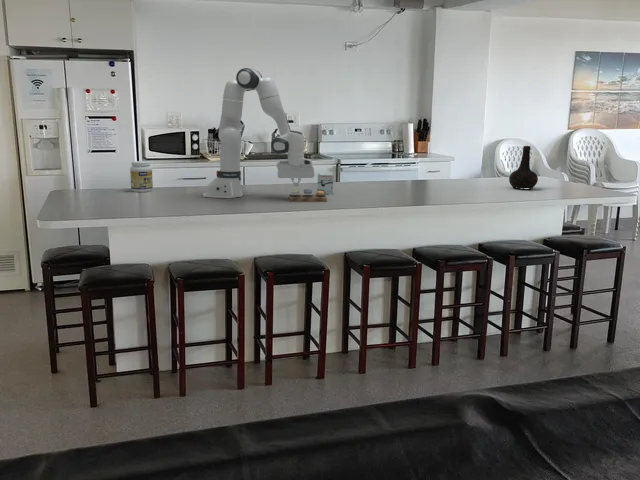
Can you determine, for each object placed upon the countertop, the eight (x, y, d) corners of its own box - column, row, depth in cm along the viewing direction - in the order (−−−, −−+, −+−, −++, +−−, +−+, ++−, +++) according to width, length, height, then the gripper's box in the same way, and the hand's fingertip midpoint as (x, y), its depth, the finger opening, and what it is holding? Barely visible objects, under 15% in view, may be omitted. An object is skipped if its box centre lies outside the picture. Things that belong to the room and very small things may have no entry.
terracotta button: (316, 195, 331) (316, 191, 331) (316, 194, 335) (316, 190, 335) (324, 195, 332) (324, 192, 331) (323, 194, 336) (323, 190, 335)
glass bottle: (508, 189, 389) (512, 146, 382) (508, 186, 406) (512, 144, 399) (537, 191, 384) (542, 147, 377) (536, 187, 401) (540, 145, 394)
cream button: (291, 193, 330) (291, 190, 329) (290, 192, 334) (290, 188, 333) (299, 193, 330) (299, 190, 330) (298, 192, 334) (298, 188, 334)
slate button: (304, 193, 330) (304, 190, 330) (303, 192, 334) (303, 188, 334) (312, 193, 331) (312, 190, 330) (311, 192, 335) (311, 189, 334)
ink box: (319, 194, 352) (319, 174, 350) (316, 193, 357) (317, 173, 354) (333, 194, 355) (333, 174, 352) (331, 193, 359) (331, 173, 357)
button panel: (290, 201, 327) (290, 197, 326) (289, 197, 338) (289, 193, 338) (326, 201, 329) (326, 197, 328) (324, 198, 340) (324, 194, 340)
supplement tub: (139, 193, 343) (138, 163, 339) (126, 190, 350) (125, 161, 346) (157, 190, 353) (156, 161, 349) (144, 188, 360) (143, 160, 356)
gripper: (277, 161, 324) (277, 187, 327) (314, 161, 326) (314, 186, 329) (276, 160, 330) (276, 185, 333) (313, 160, 332) (313, 185, 335)
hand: (296, 186), depth 331 cm, fingers closed
